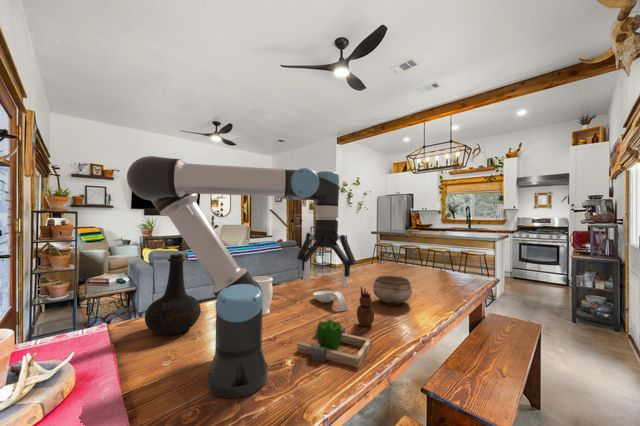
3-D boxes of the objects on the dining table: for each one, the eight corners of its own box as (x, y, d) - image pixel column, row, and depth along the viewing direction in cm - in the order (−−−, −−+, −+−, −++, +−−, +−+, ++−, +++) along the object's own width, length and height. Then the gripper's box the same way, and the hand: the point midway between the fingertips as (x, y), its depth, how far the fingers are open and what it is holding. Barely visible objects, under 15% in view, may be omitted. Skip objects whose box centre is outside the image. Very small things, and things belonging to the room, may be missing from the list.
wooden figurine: (354, 324, 109) (354, 286, 110) (362, 320, 114) (362, 284, 114) (368, 329, 105) (369, 290, 105) (376, 325, 109) (377, 287, 109)
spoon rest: (308, 299, 142) (309, 285, 142) (328, 296, 148) (328, 282, 148) (333, 313, 121) (333, 297, 121) (354, 309, 127) (354, 294, 127)
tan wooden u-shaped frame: (356, 371, 76) (356, 358, 76) (294, 354, 85) (294, 342, 85) (373, 344, 93) (373, 334, 93) (319, 332, 101) (319, 322, 101)
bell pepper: (317, 341, 94) (317, 312, 94) (341, 342, 94) (341, 313, 94) (315, 353, 86) (316, 321, 86) (342, 354, 85) (342, 322, 85)
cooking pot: (395, 294, 152) (396, 272, 152) (424, 304, 135) (424, 279, 136) (360, 301, 139) (360, 277, 139) (387, 313, 123) (387, 285, 123)
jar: (266, 317, 115) (267, 282, 115) (243, 315, 117) (244, 280, 117) (275, 309, 125) (276, 276, 125) (254, 307, 127) (255, 275, 127)
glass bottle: (132, 336, 95) (134, 256, 96) (175, 318, 112) (177, 250, 112) (171, 345, 89) (172, 259, 90) (210, 325, 106) (212, 252, 106)
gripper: (366, 220, 88) (364, 286, 88) (299, 217, 99) (298, 276, 99) (359, 220, 81) (357, 292, 81) (288, 217, 93) (286, 280, 92)
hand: (324, 283), depth 90 cm, fingers open, 13 cm apart
